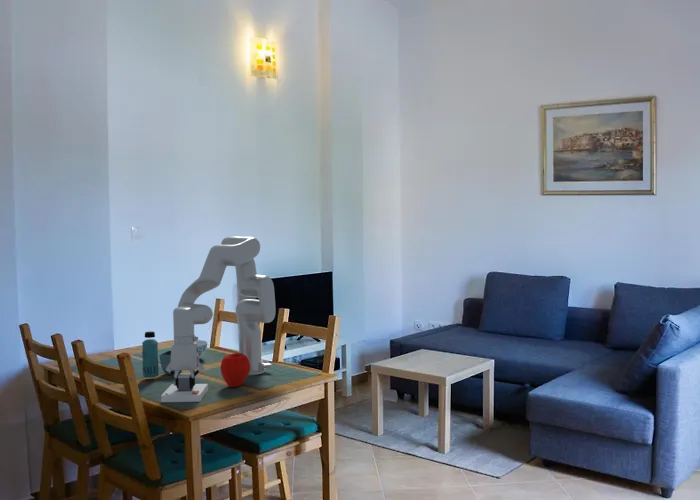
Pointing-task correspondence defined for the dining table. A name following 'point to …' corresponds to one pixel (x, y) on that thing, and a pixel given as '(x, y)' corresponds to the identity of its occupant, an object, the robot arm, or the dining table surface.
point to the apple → (235, 369)
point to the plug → (184, 382)
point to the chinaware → (201, 346)
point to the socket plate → (184, 394)
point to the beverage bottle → (150, 356)
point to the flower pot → (165, 361)
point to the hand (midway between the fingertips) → (185, 387)
